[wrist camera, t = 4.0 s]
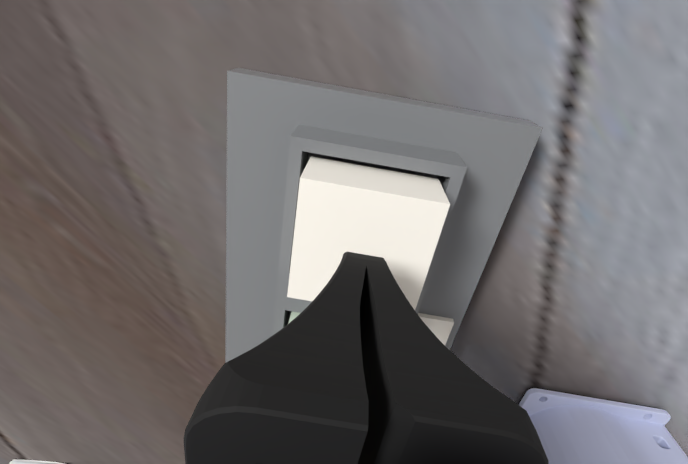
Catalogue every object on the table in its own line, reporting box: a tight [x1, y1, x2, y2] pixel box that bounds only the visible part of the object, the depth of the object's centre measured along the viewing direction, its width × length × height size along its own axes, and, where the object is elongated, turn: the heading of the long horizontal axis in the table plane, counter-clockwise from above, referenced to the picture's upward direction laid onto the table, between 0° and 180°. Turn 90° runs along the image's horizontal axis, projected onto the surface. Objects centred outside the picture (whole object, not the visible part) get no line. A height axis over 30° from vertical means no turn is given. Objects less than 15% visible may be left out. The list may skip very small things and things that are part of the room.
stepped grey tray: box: [226, 68, 543, 362], centre depth 21 cm, size 13×26×4 cm, turn 171°
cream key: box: [287, 156, 450, 310], centre depth 15 cm, size 5×5×2 cm
